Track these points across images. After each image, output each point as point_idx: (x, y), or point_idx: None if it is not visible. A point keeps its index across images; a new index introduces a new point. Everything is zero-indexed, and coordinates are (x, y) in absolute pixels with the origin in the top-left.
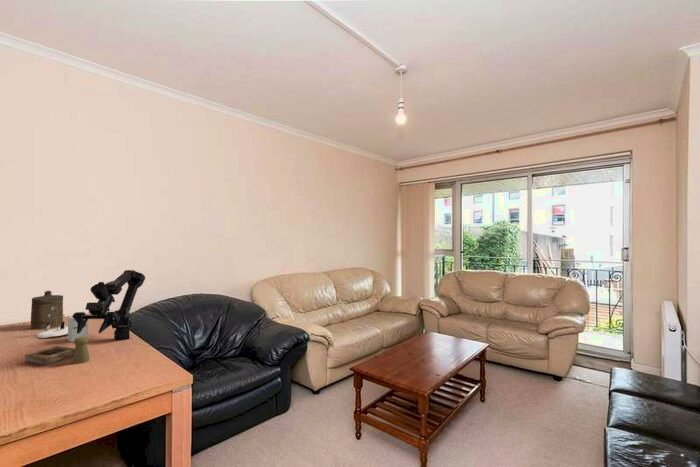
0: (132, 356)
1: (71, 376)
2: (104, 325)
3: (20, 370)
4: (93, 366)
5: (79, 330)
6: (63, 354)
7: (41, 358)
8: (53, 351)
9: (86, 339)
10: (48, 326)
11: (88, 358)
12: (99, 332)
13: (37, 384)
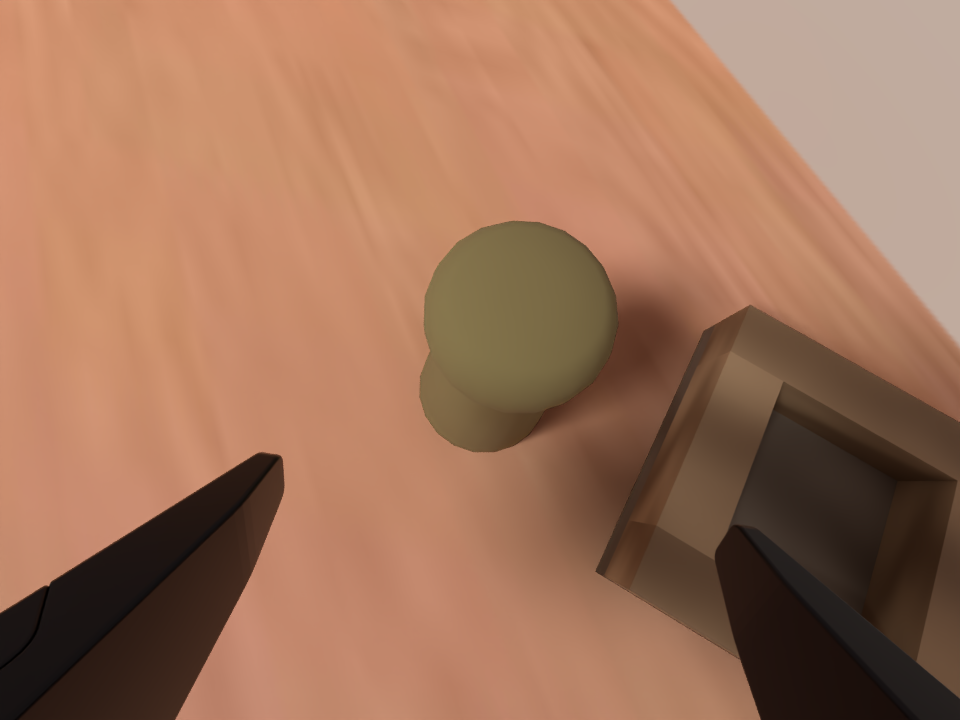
0: (10, 415)
1: (404, 77)
2: (39, 619)
3: (830, 288)
4: (322, 227)
5: (760, 593)
6: (683, 440)
7: (803, 342)
8: None
9: (435, 273)
10: None
11: (421, 381)
12: (260, 461)
13: (546, 18)
